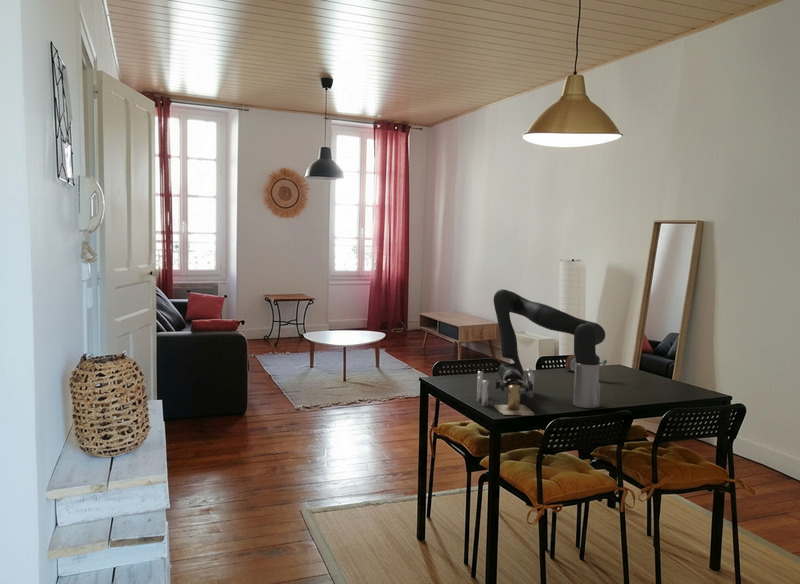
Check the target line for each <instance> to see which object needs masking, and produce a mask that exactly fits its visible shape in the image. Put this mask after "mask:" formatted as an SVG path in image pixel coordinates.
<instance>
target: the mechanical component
mask: <svg viewBox="0 0 800 584" xmlns="http://www.w3.org/2000/svg"><path fill="white" fill-rule="evenodd" d="M607 363H608V359H603V360H602V362H600V364H599V369H603V368H606V367H605V366H606V365H607Z"/></svg>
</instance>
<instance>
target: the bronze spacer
mask: <svg viewBox="0 0 800 584" xmlns="http://www.w3.org/2000/svg"><path fill="white" fill-rule="evenodd" d="M507 395H508V396H507V397H508V398H507V401H508V402H507V405H508V409H509V410H519V409H520V405H521V390H520V385H515V384H511V385H509V390H508V393H507Z"/></svg>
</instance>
